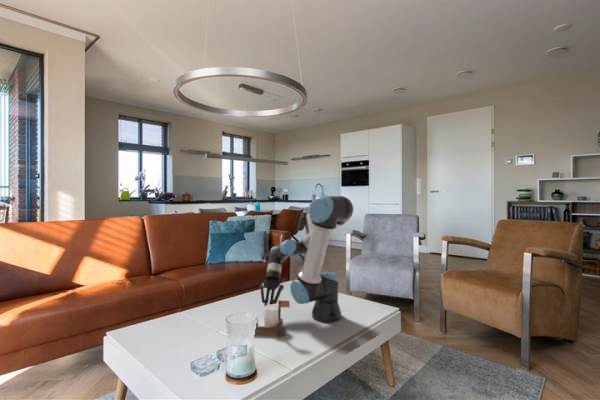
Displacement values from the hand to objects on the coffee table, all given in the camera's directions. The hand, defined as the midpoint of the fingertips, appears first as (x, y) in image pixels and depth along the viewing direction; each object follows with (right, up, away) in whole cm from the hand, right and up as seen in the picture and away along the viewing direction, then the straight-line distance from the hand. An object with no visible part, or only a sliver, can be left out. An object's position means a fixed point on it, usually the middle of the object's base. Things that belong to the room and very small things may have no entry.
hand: (266, 316), depth 154 cm
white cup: (+3, -4, -3) cm, 6 cm away
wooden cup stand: (+2, -4, -6) cm, 7 cm away
